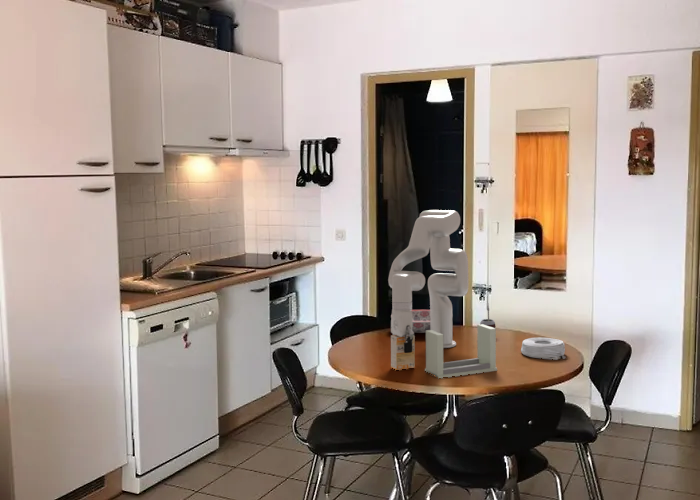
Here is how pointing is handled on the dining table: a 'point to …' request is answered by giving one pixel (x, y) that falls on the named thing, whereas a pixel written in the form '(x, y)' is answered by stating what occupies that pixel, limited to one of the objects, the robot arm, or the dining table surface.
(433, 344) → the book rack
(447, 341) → the robot arm
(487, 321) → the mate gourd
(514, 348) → the dining table surface
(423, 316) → the ceramic bowl
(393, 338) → the supplement box
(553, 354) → the cable
